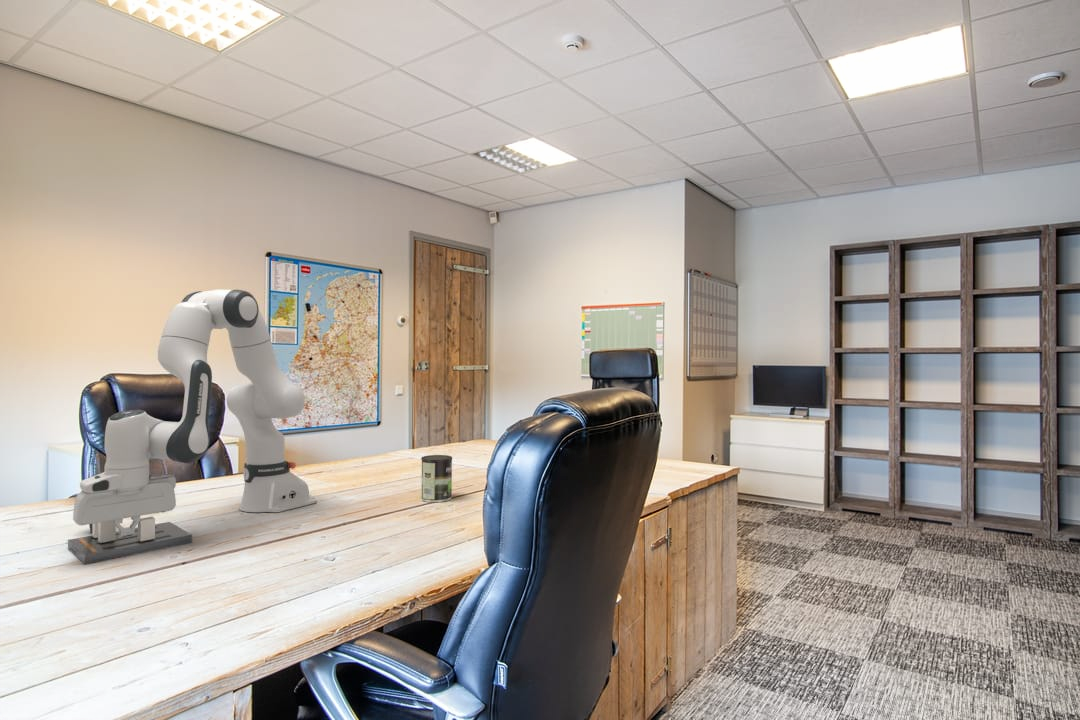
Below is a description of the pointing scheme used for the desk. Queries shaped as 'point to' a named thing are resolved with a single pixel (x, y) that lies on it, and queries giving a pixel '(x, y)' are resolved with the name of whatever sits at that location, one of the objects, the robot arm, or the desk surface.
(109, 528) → the block
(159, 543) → the grey slider panel
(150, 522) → the block
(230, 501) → the desk surface
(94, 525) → the block
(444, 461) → the coffee can
